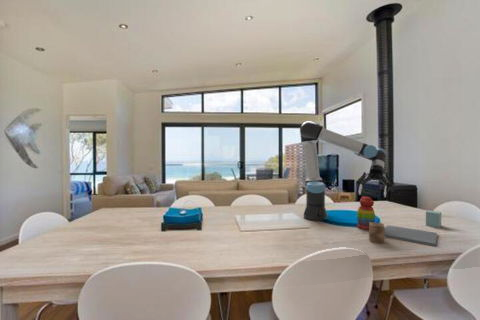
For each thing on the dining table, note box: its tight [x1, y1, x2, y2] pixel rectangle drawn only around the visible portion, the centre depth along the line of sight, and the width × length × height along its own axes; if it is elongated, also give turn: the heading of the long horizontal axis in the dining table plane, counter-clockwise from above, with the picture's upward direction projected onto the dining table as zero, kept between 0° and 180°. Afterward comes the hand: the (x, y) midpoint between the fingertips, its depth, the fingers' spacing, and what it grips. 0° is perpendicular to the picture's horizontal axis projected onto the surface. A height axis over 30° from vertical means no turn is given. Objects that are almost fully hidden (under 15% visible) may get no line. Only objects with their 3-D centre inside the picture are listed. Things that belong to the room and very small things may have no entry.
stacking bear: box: [356, 195, 376, 231], centre depth 138 cm, size 11×10×18 cm
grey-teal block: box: [425, 210, 442, 228], centre depth 142 cm, size 6×6×8 cm
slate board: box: [385, 224, 438, 247], centre depth 125 cm, size 22×20×1 cm
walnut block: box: [368, 222, 386, 245], centre depth 117 cm, size 6×6×8 cm
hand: (371, 194), depth 145 cm, fingers open, 13 cm apart
